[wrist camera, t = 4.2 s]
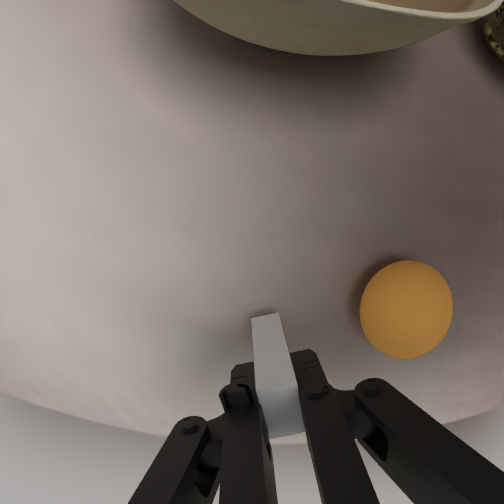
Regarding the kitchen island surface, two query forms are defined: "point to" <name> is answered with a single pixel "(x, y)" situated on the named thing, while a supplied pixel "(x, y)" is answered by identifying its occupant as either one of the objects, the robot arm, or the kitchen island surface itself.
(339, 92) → the kitchen island surface
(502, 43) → the green lump
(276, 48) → the planter bowl
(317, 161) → the kitchen island surface
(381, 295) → the ball
